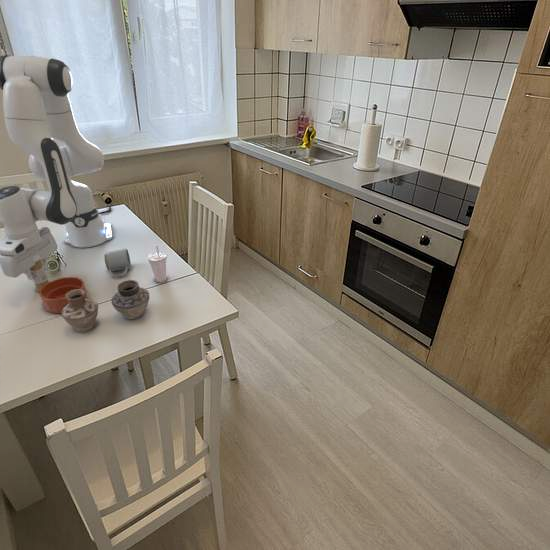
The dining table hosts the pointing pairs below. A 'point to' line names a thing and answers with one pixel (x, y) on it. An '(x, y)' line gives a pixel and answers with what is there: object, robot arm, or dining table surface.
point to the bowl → (60, 293)
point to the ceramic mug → (117, 261)
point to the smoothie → (158, 265)
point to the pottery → (124, 301)
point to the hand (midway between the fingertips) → (38, 274)
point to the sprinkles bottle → (39, 273)
